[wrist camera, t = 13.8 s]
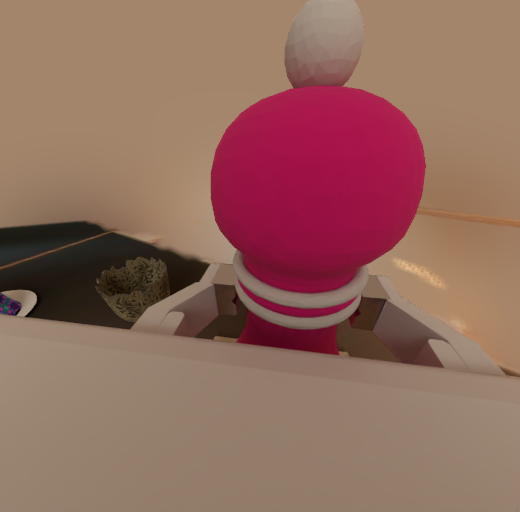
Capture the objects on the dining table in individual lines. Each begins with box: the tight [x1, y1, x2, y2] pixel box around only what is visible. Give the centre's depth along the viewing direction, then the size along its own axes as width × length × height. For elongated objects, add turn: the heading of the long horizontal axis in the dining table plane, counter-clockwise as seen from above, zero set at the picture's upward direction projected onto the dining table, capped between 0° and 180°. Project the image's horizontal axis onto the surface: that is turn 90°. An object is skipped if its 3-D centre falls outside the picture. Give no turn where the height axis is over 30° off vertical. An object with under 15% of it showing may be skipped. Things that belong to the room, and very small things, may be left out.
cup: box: [95, 257, 170, 322], centre depth 26 cm, size 8×7×8 cm
